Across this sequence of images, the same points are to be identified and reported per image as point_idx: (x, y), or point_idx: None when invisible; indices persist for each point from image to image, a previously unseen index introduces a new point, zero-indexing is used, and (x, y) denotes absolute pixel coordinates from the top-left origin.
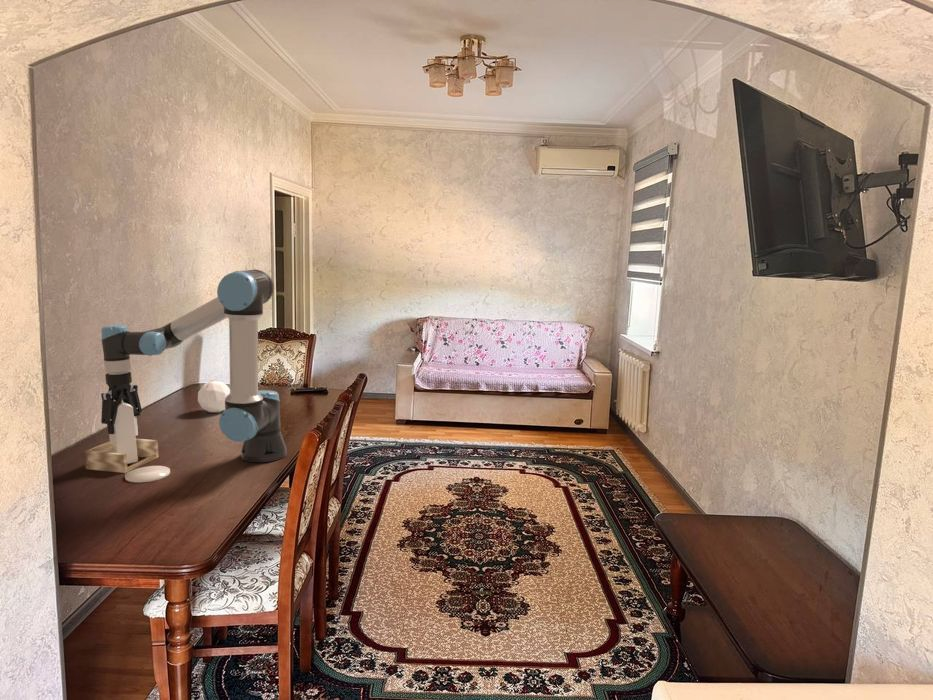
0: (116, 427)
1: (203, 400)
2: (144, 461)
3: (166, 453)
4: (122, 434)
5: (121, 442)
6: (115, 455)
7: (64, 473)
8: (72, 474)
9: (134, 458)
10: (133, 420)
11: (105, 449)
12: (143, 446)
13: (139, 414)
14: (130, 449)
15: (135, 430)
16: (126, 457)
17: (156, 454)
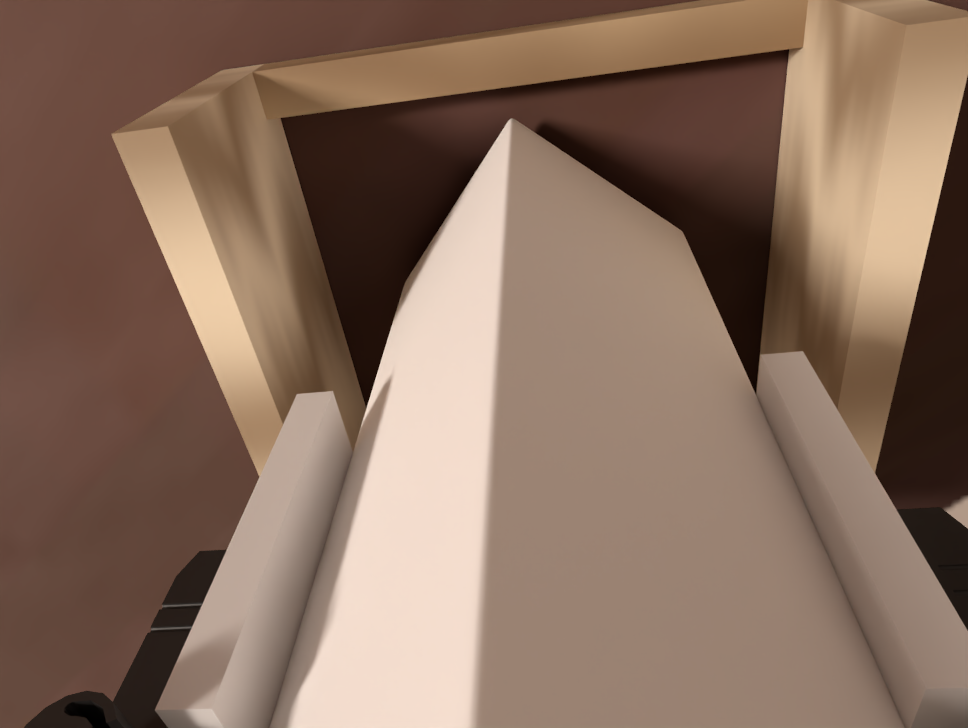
0: (913, 592)
1: None
2: (475, 37)
3: (85, 89)
4: (700, 430)
5: (694, 352)
6: (930, 181)
7: (911, 506)
8: (934, 442)
9: (543, 151)
10: (503, 545)
11: None
12: (276, 288)
13: (55, 726)
14: (581, 223)
15: (313, 462)
16: (877, 16)
17: (240, 76)
